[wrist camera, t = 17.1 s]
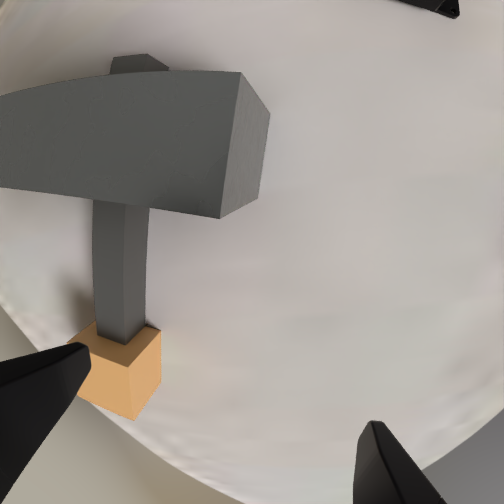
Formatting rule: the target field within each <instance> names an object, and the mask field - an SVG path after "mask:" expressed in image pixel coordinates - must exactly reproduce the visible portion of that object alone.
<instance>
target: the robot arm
mask: <svg viewBox="0 0 504 504" xmlns="http://www.w3.org/2000/svg"><path fill="white" fill-rule="evenodd" d="M400 1H403V2H406V3H409V4H412V5H415V6H418V7H421V8H424V9H427V10H430V11H433V12H437V13H439V14H442V15H445V16H447V17H450V18H452V19H456V18H457V17H458V16H459V15H460V11H459V2H458V0H400ZM450 10H452V11H453V12H454V13H452V12H451V11H450ZM91 365H92V364H91V358H90V351H89V347H88V346H87V345H85V344H83V343H81V342H73V343H70V344H66V345H63V346H59V347H55V348H52V349H48V350H44V351H40V352H37V353H33V354H29V355H26V356H21V357H17V358H14V359H10V360H6V361H2V362H0V504H1V503H2V502H3V500H4V498H5V497H6V495H7V494H8V492H9V491H10V489H11V488H12V486H13V484H14V483H15V482H16V480H17V479H18V477H19V476H20V474H21V472H22V471H23V470H24V468H25V466H26V465H27V464H28V462H29V461H30V460H31V458H32V456H33V455H34V454H35V452H36V451H37V450H38V448H39V447H40V445H41V444H42V442H43V441H44V440H45V438H46V437H47V435H48V434H49V433H50V431H51V430H52V429H53V427H54V426H55V424H56V423H57V422H58V420H59V419H60V417H61V416H62V415H63V414H64V412H65V411H66V409H67V408H68V407H69V405H70V404H71V402H72V401H73V399H74V397H75V396H76V394H77V392H78V391H79V389H80V387H81V386H82V384H83V382H84V381H85V379H86V377H87V375H88V374H89V372H90V370H91ZM353 504H447V503H446V502H445V501H444V499H443V498H441V495H440V494H439V493H438V492H437V490H436V489H435V488H434V487H433V485H432V484H431V483H430V481H429V480H428V479H427V478H426V476H425V475H424V474H423V473H422V471H421V470H420V469H419V467H418V466H417V465H416V463H415V462H414V461H413V460H412V458H411V457H410V456H409V454H408V453H407V452H406V451H405V449H404V448H403V447H402V445H401V444H400V443H399V442H398V440H397V439H396V438H395V436H394V435H393V434H392V433H391V431H390V430H389V429H388V428H387V426H386V425H385V424H384V423H383V422H382V421H373V420H372V421H369V422H368V423H367V425H366V427H365V429H364V430H363V432H362V434H361V435H360V437H359V439H358V444H357V454H356V464H355V473H354V482H353Z"/></svg>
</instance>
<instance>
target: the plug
mask: <svg viewBox="0 0 504 504" xmlns="http://www.w3.org/2000/svg"><path fill="white" fill-rule="evenodd" d="M168 70H169V67H167V66H166V65H164V64H163V63H161V62H160V61H158V60H156V59H155V58H153V57H152V56H150V55H148V54H140V55H130V56H121V57H114V58H113V61H112V65H111V70H110V75H113V74H124V73H137V72H154V71H168ZM148 221H149V207H142V206H136V205H129V204H122V203H116V202H109V201H102V200H95V199H94V201H93V232H92V256H93V288H94V305H95V318H96V320H95V321H94V322H93V323H91V324H90V325H89V326H87V327H86V328H85V329H83V330H82V331H81V332H80V333H78V334H77V335H76V336H74V337H73V338H72V339H70V340H69V341H68V342H67V344H70V343H73V342H81V343H83V344H85V345H87V346H88V347H89V351H90V358H91V364H92V365H91V370H90V372H89V374H88V375H87V377H86V379H85V381H84V382H83V384H82V386H81V387H80V389H79V391H78V392H77V394H78V396H79V397H81V398H83V399H85V400H87V401H89V402H91V403H94V404H96V405H98V406H100V407H102V408H104V409H107V410H109V411H111V412H114V413H116V414H118V415H121V416H123V417H125V418H128V419H130V420H133V421H134V420H135V419H136V418H137V416H138V415H139V413H140V412H141V410H142V409H143V407H144V406H145V405H146V403H147V402H148V400H149V399H150V397H151V396H152V395H153V393H154V392H155V390H156V389H157V387H158V386H159V385H160V383H161V331H160V330H157V329H154V328H150V327H147V326H145V290H146V256H147V236H148Z"/></svg>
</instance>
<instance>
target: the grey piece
mask: <svg viewBox="0 0 504 504" xmlns="http://www.w3.org/2000/svg"><path fill="white" fill-rule="evenodd" d="M269 119H270V113H269V111H268V110H267V108H266V107H265V105H264V104H263V102H262V101H261V99H260V98H259V97H258V95H257V94H256V92H255V91H254V89H253V88H252V87H251V85H250V84H249V82H248V81H247V80H246V78H245V77H244V76H243V74H242V73H241V72H224V71H154V72H137V73H124V74H113V75H104V76H96V77H88V78H81V79H75V80H69V81H63V82H57V83H52V84H47V85H42V86H38V87H33V88H29V89H25V90H21V91H17V92H13V93H9V94H5V95H2V96H0V187H2V188H11V189H19V190H27V191H35V192H43V193H51V194H59V195H66V196H73V197H81V198H88V199H95V200H102V201H109V202H116V203H122V204H129V205H136V206H142V207H149V208H155V209H162V210H168V211H174V212H180V213H187V214H193V215H199V216H205V217H211V218H217V219H221V218H222V217H224V216H226V215H228V214H230V213H231V212H233V211H235V210H237V209H239V208H241V207H242V206H244V205H246V204H248V203H250V202H252V201H253V200H255V199H257V198H258V192H259V186H260V179H261V172H262V166H263V159H264V152H265V146H266V139H267V132H268V126H269Z"/></svg>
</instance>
